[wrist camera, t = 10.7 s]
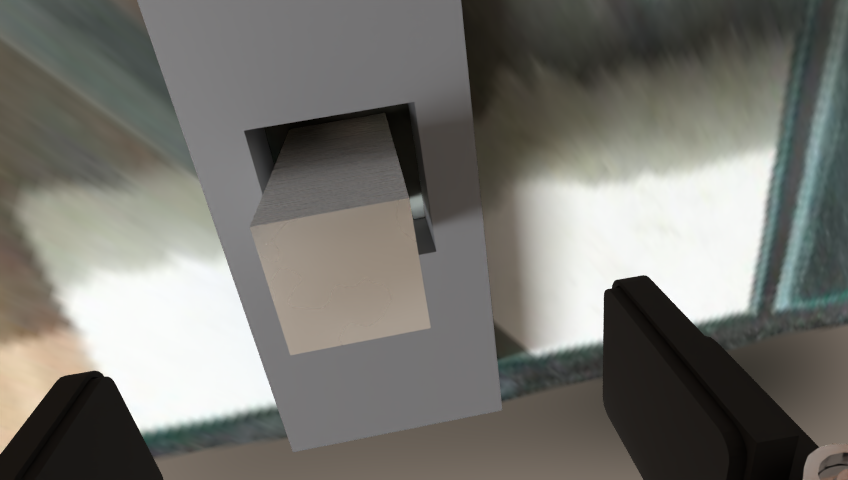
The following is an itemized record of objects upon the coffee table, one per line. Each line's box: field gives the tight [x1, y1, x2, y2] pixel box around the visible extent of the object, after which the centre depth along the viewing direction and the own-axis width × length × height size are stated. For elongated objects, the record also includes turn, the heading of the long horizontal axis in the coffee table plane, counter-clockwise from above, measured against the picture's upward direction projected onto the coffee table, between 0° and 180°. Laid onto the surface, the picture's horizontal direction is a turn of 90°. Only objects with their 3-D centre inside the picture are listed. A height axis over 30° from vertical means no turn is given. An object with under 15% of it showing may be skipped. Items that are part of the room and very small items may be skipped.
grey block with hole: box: [137, 0, 502, 452], centre depth 22 cm, size 10×24×4 cm, turn 8°
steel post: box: [250, 113, 431, 355], centre depth 19 cm, size 4×4×10 cm
